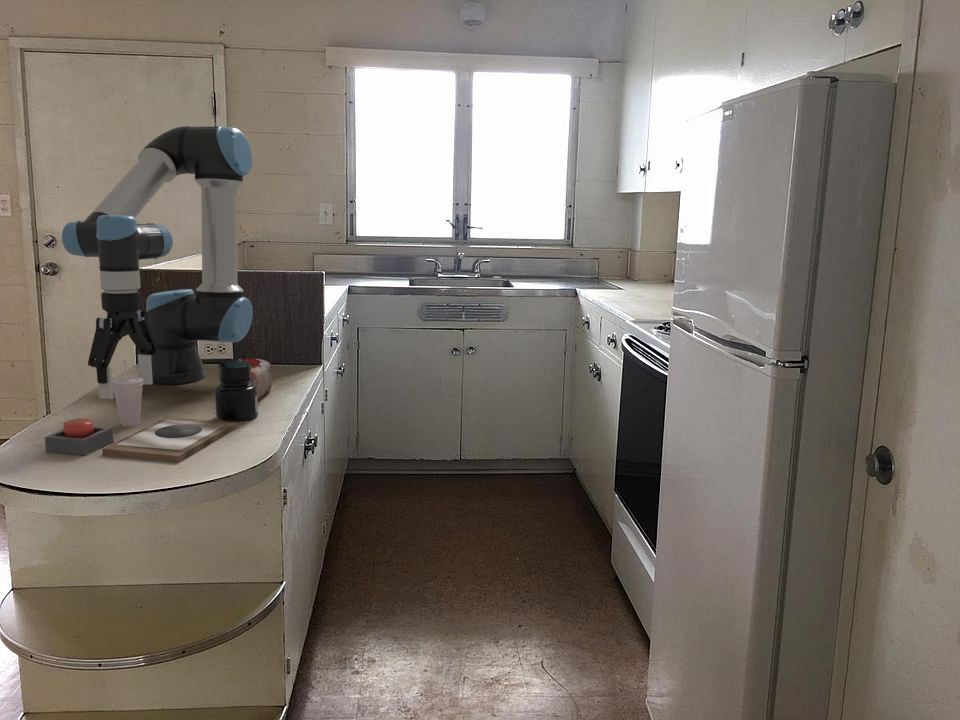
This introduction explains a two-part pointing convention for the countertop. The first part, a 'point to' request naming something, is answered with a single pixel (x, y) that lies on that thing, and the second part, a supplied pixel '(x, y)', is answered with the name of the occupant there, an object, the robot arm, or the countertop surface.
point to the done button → (78, 428)
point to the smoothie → (128, 398)
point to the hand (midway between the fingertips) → (127, 391)
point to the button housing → (79, 442)
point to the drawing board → (170, 439)
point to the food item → (260, 375)
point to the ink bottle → (236, 392)
